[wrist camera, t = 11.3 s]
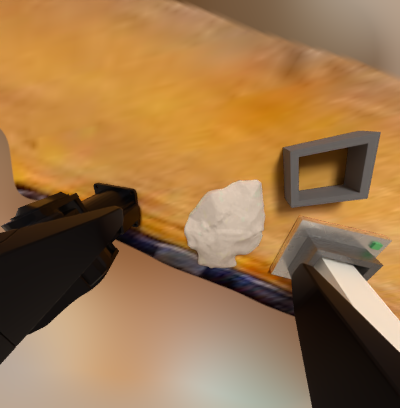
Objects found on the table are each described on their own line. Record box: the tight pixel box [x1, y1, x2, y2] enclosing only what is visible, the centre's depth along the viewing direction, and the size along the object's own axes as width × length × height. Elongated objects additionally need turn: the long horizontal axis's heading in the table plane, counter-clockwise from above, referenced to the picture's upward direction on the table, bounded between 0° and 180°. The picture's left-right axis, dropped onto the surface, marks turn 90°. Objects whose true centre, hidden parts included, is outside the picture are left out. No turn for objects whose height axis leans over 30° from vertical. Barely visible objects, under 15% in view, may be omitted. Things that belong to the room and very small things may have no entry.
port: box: [270, 216, 392, 281], centre depth 20 cm, size 10×10×4 cm
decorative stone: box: [184, 180, 265, 268], centre depth 21 cm, size 11×4×15 cm
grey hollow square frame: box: [283, 131, 381, 208], centre depth 16 cm, size 7×6×2 cm
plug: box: [314, 256, 400, 352], centre depth 15 cm, size 4×3×12 cm
